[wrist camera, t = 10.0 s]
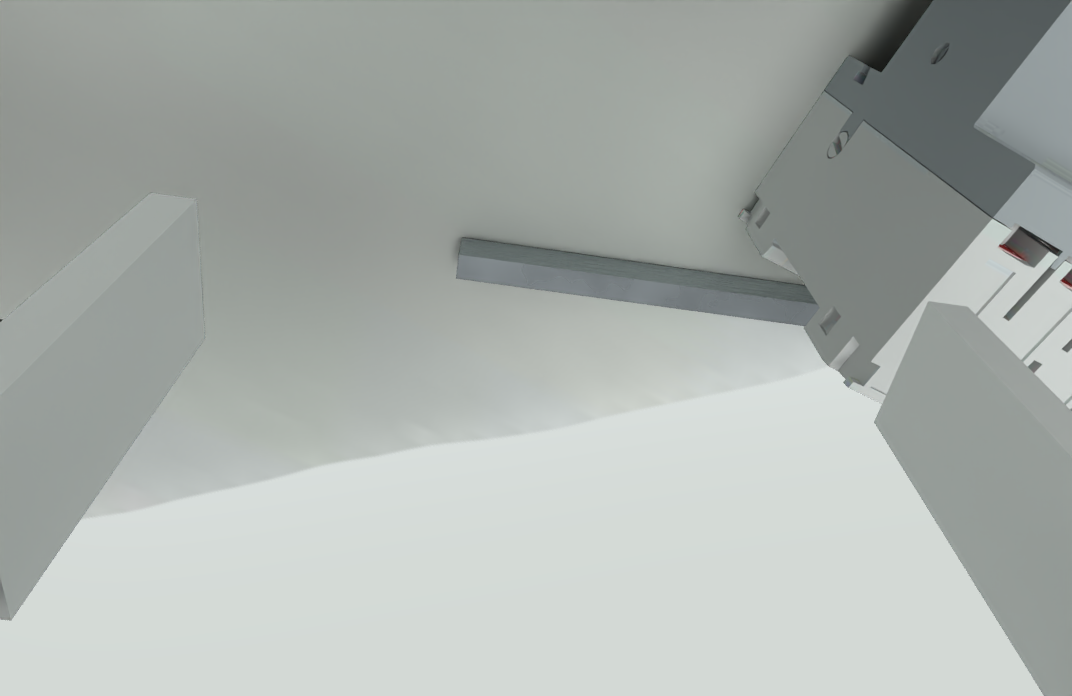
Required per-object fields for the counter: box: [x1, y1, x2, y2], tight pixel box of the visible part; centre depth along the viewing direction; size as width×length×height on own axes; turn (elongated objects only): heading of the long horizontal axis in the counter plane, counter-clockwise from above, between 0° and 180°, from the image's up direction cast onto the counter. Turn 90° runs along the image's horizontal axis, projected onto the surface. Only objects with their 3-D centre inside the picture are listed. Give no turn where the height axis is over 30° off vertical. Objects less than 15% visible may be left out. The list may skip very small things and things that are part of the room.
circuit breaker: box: [738, 0, 1072, 411], centre depth 29 cm, size 8×14×15 cm, turn 153°
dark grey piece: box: [456, 237, 820, 326], centre depth 27 cm, size 25×21×18 cm
